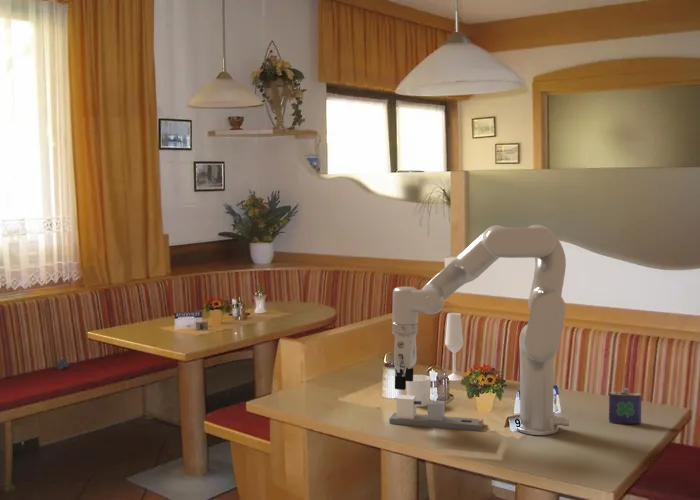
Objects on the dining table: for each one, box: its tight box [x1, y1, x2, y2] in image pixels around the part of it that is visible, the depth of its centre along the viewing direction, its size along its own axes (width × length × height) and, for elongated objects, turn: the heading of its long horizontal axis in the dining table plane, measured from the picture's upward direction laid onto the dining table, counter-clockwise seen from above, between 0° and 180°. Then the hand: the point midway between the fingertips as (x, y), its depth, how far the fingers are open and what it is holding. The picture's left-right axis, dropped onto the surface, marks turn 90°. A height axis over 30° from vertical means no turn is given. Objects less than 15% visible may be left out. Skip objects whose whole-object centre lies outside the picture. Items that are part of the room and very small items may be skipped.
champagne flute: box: [444, 312, 464, 382], centre depth 289 cm, size 7×7×24 cm
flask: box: [608, 387, 642, 426], centre depth 236 cm, size 9×3×11 cm, turn 78°
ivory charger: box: [396, 394, 421, 419], centre depth 236 cm, size 7×4×8 cm, turn 73°
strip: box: [389, 412, 484, 432], centre depth 234 cm, size 27×6×4 cm, turn 73°
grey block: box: [427, 399, 446, 421], centre depth 234 cm, size 4×4×6 cm
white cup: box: [406, 374, 432, 408], centre depth 254 cm, size 8×8×10 cm
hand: (404, 385), depth 236 cm, fingers open, 9 cm apart
